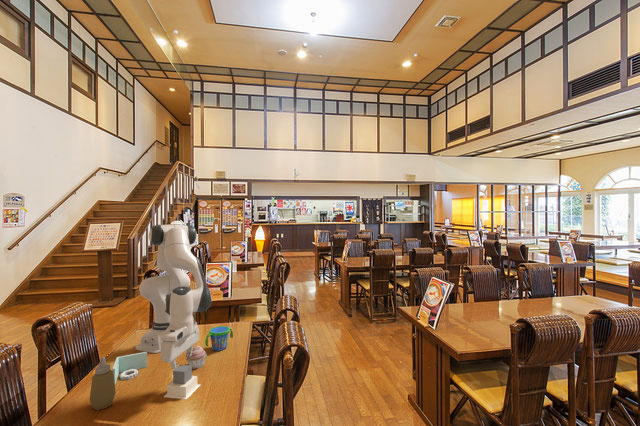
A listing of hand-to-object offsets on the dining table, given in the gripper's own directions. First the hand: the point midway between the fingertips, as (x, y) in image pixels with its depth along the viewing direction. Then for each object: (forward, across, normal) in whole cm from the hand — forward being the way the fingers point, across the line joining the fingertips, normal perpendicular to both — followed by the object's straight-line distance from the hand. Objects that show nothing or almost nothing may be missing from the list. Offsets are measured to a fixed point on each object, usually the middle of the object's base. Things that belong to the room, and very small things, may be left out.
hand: (181, 362), depth 121 cm
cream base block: (+11, 0, +1) cm, 11 cm away
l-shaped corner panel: (+13, -8, -31) cm, 35 cm away
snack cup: (+13, -40, -4) cm, 42 cm away
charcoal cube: (+7, 0, 0) cm, 7 cm away
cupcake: (+13, -20, -5) cm, 24 cm away
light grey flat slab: (+12, 0, 0) cm, 12 cm away
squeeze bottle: (+12, +12, -24) cm, 30 cm away
